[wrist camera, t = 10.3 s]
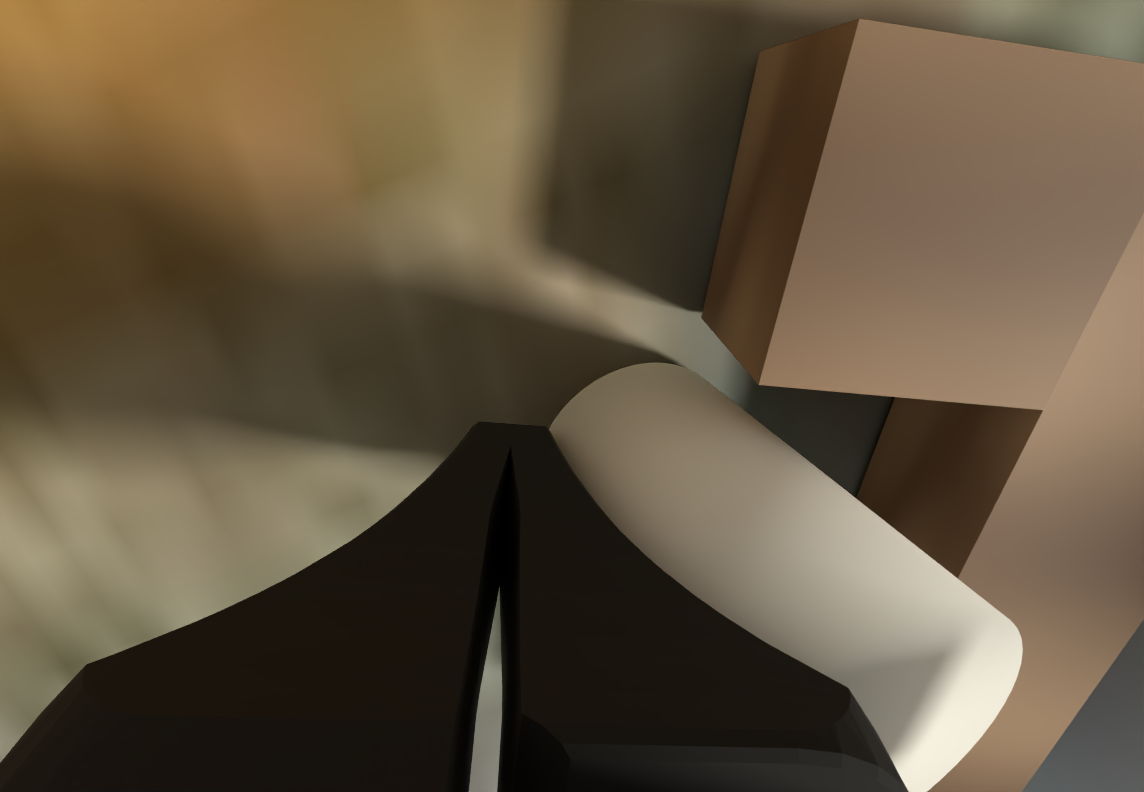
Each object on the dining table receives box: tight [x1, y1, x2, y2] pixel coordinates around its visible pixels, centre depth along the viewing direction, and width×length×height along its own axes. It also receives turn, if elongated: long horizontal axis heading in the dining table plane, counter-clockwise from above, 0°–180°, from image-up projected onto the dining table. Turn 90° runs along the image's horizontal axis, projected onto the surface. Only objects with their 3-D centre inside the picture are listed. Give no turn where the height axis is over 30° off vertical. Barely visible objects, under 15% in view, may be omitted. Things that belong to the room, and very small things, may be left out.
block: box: [701, 19, 1144, 792], centre depth 11 cm, size 14×8×3 cm, turn 173°
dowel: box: [549, 363, 1023, 792], centre depth 9 cm, size 4×4×6 cm
